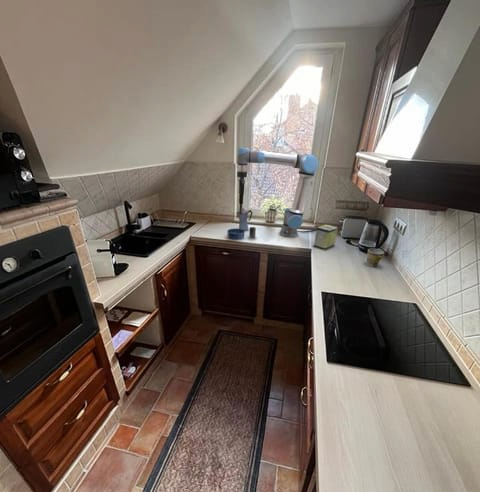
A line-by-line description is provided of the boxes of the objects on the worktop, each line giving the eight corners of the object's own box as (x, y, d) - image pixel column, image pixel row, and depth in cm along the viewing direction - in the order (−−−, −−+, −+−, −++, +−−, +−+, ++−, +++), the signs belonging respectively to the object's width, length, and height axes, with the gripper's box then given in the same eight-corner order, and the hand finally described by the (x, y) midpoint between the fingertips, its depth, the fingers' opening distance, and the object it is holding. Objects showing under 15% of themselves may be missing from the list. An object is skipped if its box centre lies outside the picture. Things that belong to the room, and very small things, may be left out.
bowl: (242, 235, 223) (243, 228, 220) (245, 240, 210) (245, 233, 207) (226, 235, 221) (226, 228, 218) (228, 241, 209) (228, 233, 206)
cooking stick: (241, 214, 207) (242, 191, 198) (241, 214, 205) (242, 191, 196) (239, 214, 206) (239, 191, 197) (239, 214, 205) (240, 191, 196)
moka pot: (234, 229, 235) (234, 207, 225) (248, 228, 241) (249, 206, 231) (238, 232, 228) (238, 210, 218) (253, 231, 234) (254, 208, 224)
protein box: (334, 245, 206) (338, 226, 199) (324, 250, 197) (329, 230, 189) (322, 242, 213) (326, 224, 205) (313, 246, 203) (316, 227, 195)
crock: (254, 237, 219) (255, 226, 214) (255, 239, 214) (256, 228, 210) (248, 237, 218) (249, 227, 214) (249, 239, 214) (250, 228, 209)
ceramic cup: (361, 261, 180) (365, 248, 175) (374, 261, 181) (378, 248, 176) (370, 269, 169) (375, 256, 164) (385, 269, 170) (389, 255, 165)
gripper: (236, 170, 195) (235, 201, 207) (238, 172, 183) (237, 205, 194) (245, 170, 196) (244, 201, 208) (248, 172, 184) (247, 205, 196)
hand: (240, 203), depth 201 cm, fingers closed on cooking stick, 2 cm apart
